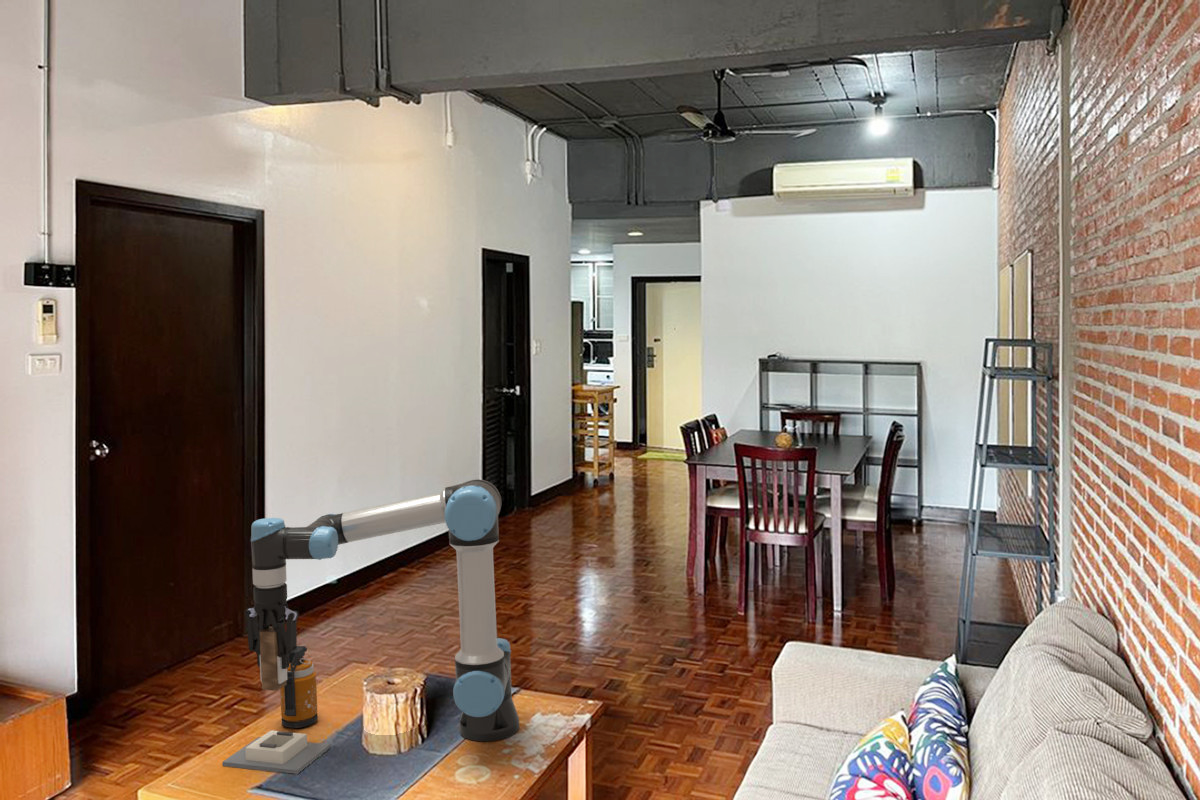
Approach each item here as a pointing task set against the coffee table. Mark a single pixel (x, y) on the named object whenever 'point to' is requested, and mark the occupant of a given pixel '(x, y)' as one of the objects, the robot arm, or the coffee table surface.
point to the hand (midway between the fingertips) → (274, 680)
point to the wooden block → (269, 660)
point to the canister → (299, 692)
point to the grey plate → (277, 753)
